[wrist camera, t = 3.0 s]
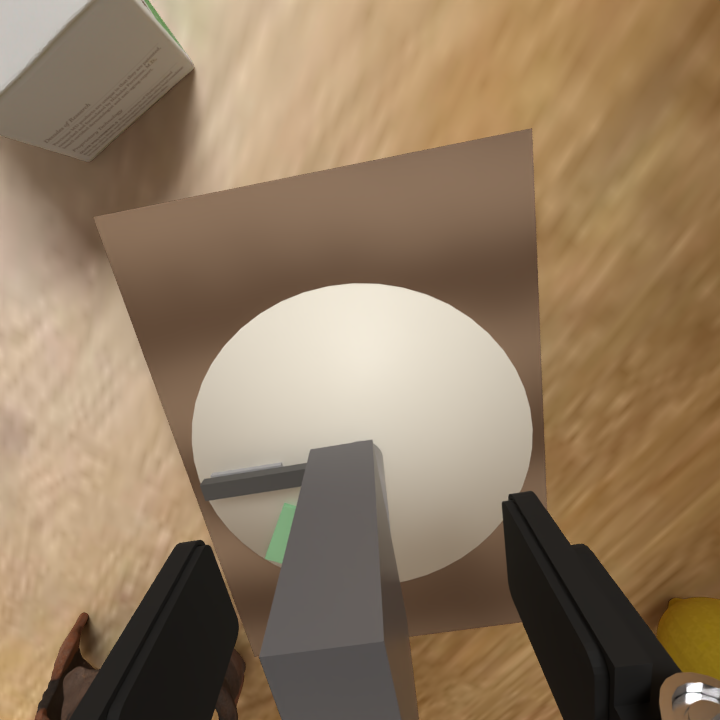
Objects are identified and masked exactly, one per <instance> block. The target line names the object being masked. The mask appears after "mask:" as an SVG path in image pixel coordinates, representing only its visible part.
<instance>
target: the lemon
mask: <svg viewBox="0 0 720 720" xmlns="http://www.w3.org/2000/svg"><path fill="white" fill-rule="evenodd" d="M657 639H658V640H659V642H660V643H661V644H662V646H663V647H664V648H665V650H666V651H667V652H668V654H669V655H670V656H671V658H672V659H673V660H674V662H675V663H676V664H677V666H678V667H679V668H680V670H681V671H682V672H683V673H684V672H693V673H698V674H703V675H708V676H711V677H713V678H715V679H717V680H720V599H714V598H707V597H694V598H687V599H680V598H673V599H671V600H670V601H669V604H668V609H667V610H666V611H665V612H664V614H663V615H662V617H661V619H660V621H659V624H658V628H657Z"/></svg>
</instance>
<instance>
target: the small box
mask: <svg viewBox="0 0 720 720" xmlns="http://www.w3.org/2000/svg"><path fill="white" fill-rule="evenodd" d="M193 68H194V64H193V62H192V60H191V59H190V57H189V56H188V55H187V53H186V52H185V51H184V49H183V48H182V47H181V45H180V44H179V42H178V41H177V40H176V38H175V37H174V35H173V34H172V33H171V31H170V30H169V29H168V27H167V26H166V24H165V23H164V22H163V20H162V19H161V17H160V16H159V14H158V13H157V12H156V10H155V9H154V7H153V6H152V5H151V3H150V2H149V0H0V136H3V137H6V138H10V139H13V140H16V141H20V142H23V143H26V144H30V145H33V146H37V147H40V148H43V149H46V150H50V151H53V152H56V153H60V154H63V155H66V156H70V157H73V158H76V159H79V160H83V161H86V162H90V161H92V160H93V159H94V158H95V157H96V156H97V155H98V154H99V153H100V152H101V151H102V150H103V149H105V148H106V147H107V146H108V145H109V144H110V143H111V142H112V141H114V140H115V139H116V138H117V137H118V136H119V135H120V134H121V133H123V132H124V131H125V130H126V129H127V128H128V127H129V126H130V125H131V124H133V123H134V122H135V121H136V120H137V119H138V118H139V117H141V116H142V115H143V114H144V113H145V112H146V111H147V110H148V109H149V108H150V107H151V106H153V105H154V104H155V103H156V102H157V101H158V100H159V99H160V98H161V97H163V96H164V95H165V94H166V93H167V92H168V91H169V90H170V89H171V88H172V87H173V86H174V85H176V84H177V83H178V82H179V81H180V80H181V79H182V78H184V77H185V76H186V75H187V74H188V73H190V72H191V71H192V70H193Z"/></svg>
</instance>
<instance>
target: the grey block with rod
mask: <svg viewBox="0 0 720 720" xmlns="http://www.w3.org/2000/svg"><path fill="white" fill-rule="evenodd" d="M295 487H301V489H300V493H299V497H298V501H297V505H296V509H295V513H294V517H293V521H292V525H291V529H290V533H289V538H288V542H287V546H286V550H285V554H284V558H283V562H282V566H281V570H280V574H279V578H278V582H277V586H276V590H275V594H274V599H273V603H272V607H271V611H270V615H269V619H268V623H267V627H266V631H265V635H264V639H263V643H262V647H261V651H260V655H259V659H260V662H261V664H262V667H263V670H264V673H265V675H266V678H267V681H268V684H269V686H270V689H271V692H272V695H273V697H274V700H275V703H276V706H277V708H278V711H279V714H280V717H281V719H282V720H419V716H418V708H417V699H416V691H415V683H414V675H413V666H412V658H411V650H410V642H409V633H408V625H407V617H406V611H405V606H404V601H403V596H402V591H401V585H400V580H399V575H398V570H397V564H396V559H395V554H394V549H393V544H392V538H391V531H390V521H389V511H388V502H387V492H386V482H385V472H384V462H383V455H382V452H381V450H380V449H379V448H378V447H377V446H376V445H375V444H373V440H366V441H356V442H353V443H347V444H341V445H335V446H328V447H322V448H316V449H310V452H309V456H308V460H307V463H302V464H296V465H289V466H283V467H277V468H270V469H264V470H258V471H251V472H245V473H239V474H232V475H226V476H220V477H213V478H207V479H204V480H203V481H202V483H201V484H200V488H201V490H202V493H203V496H204V499H205V501H210V500H217V499H223V498H230V497H236V496H243V495H249V494H256V493H262V492H269V491H275V490H282V489H288V488H295Z"/></svg>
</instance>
